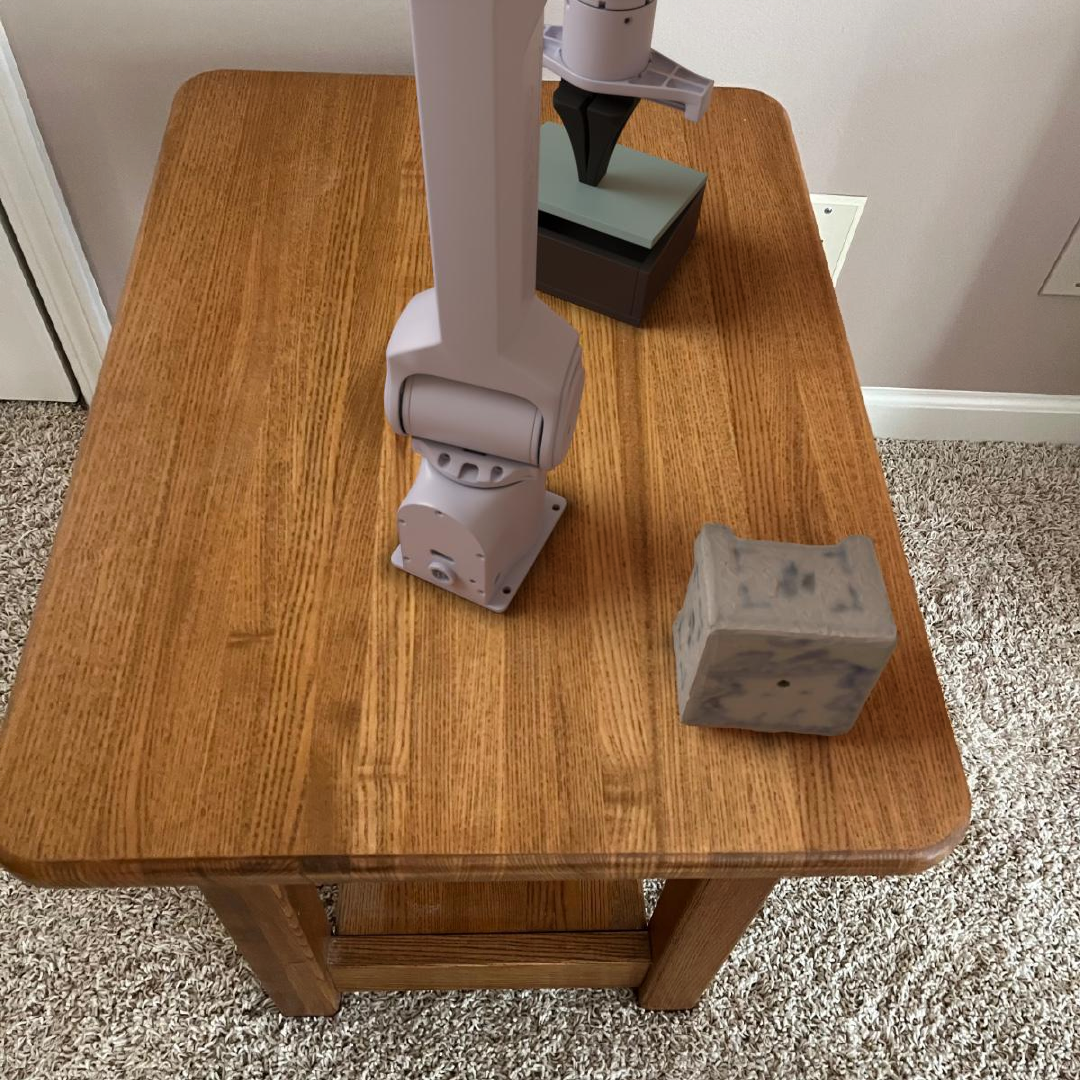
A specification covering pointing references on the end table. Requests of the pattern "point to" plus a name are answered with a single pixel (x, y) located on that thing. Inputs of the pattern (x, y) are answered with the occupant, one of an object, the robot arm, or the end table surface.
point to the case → (610, 264)
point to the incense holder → (781, 633)
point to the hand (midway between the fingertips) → (592, 177)
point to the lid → (615, 189)
